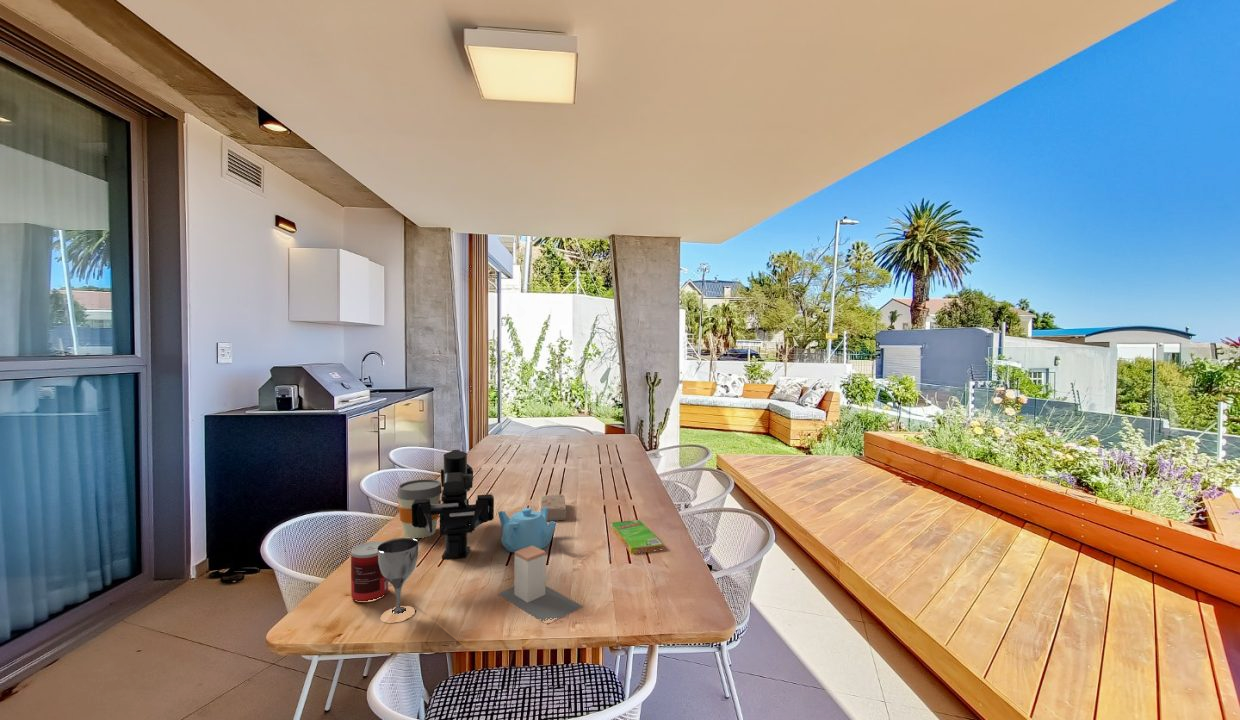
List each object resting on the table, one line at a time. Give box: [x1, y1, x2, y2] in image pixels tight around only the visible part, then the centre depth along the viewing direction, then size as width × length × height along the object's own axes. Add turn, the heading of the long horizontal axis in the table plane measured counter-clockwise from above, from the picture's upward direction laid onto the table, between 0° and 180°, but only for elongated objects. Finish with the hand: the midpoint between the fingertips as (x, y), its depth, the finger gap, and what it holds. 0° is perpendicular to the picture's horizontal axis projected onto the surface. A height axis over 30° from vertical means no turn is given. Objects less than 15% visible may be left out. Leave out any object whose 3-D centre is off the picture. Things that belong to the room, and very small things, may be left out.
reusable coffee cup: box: [396, 478, 443, 539], centre depth 149 cm, size 13×13×15 cm
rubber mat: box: [498, 585, 584, 622], centre depth 110 cm, size 18×10×1 cm, turn 47°
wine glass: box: [377, 537, 419, 614], centre depth 105 cm, size 8×8×15 cm
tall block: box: [513, 545, 547, 603], centre depth 112 cm, size 5×5×10 cm
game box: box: [611, 519, 664, 555], centre depth 148 cm, size 3×10×20 cm
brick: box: [540, 493, 567, 522], centre depth 169 cm, size 17×8×5 cm, turn 9°
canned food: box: [350, 540, 389, 601], centre depth 113 cm, size 8×8×11 cm
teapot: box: [498, 507, 557, 554], centre depth 142 cm, size 15×15×11 cm
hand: (452, 528), depth 111 cm, fingers open, 9 cm apart
